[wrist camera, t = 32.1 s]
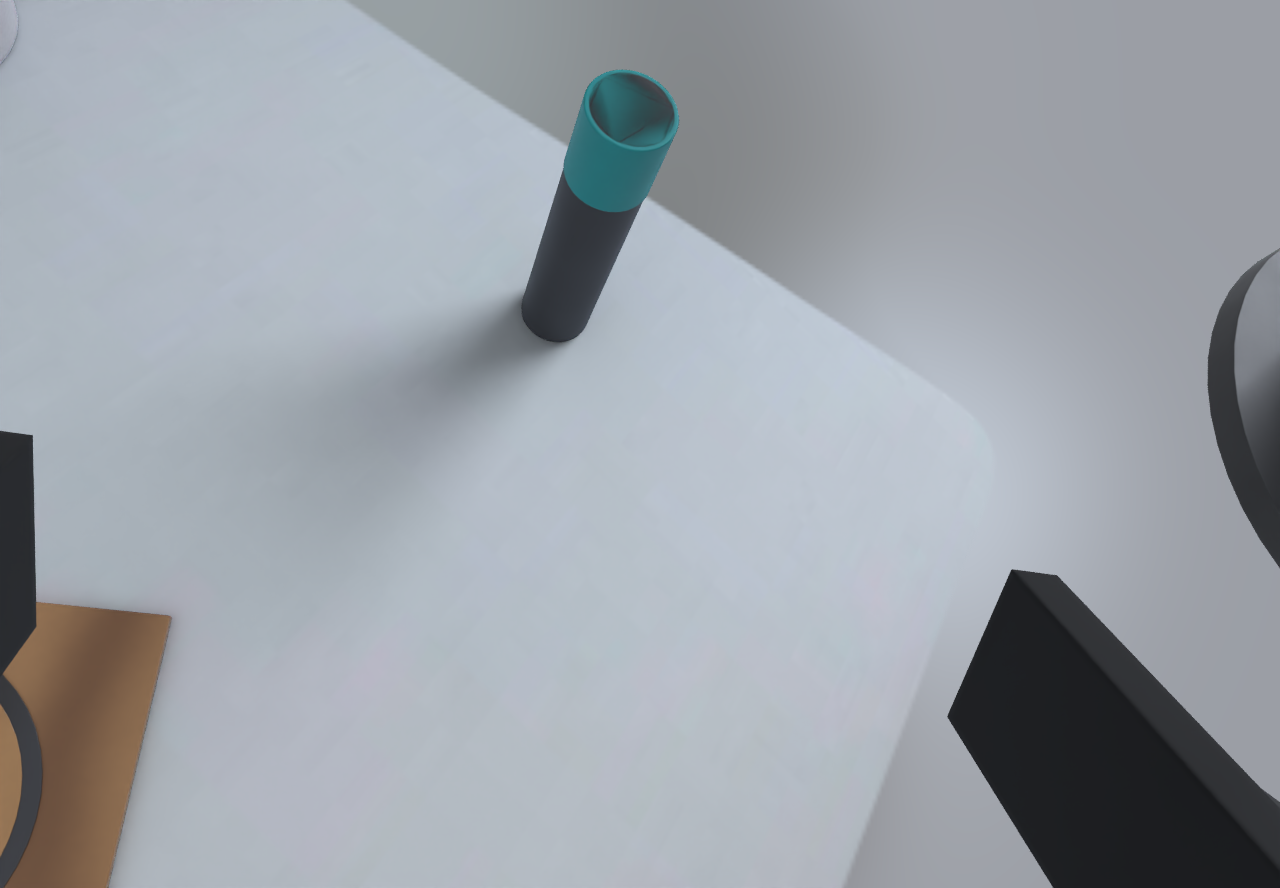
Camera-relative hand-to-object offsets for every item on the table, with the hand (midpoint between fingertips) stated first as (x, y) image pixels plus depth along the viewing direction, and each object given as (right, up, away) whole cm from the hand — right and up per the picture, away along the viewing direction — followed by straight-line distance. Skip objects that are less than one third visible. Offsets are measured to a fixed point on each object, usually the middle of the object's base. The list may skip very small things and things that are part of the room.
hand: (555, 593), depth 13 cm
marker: (-2, +7, +24) cm, 25 cm away
